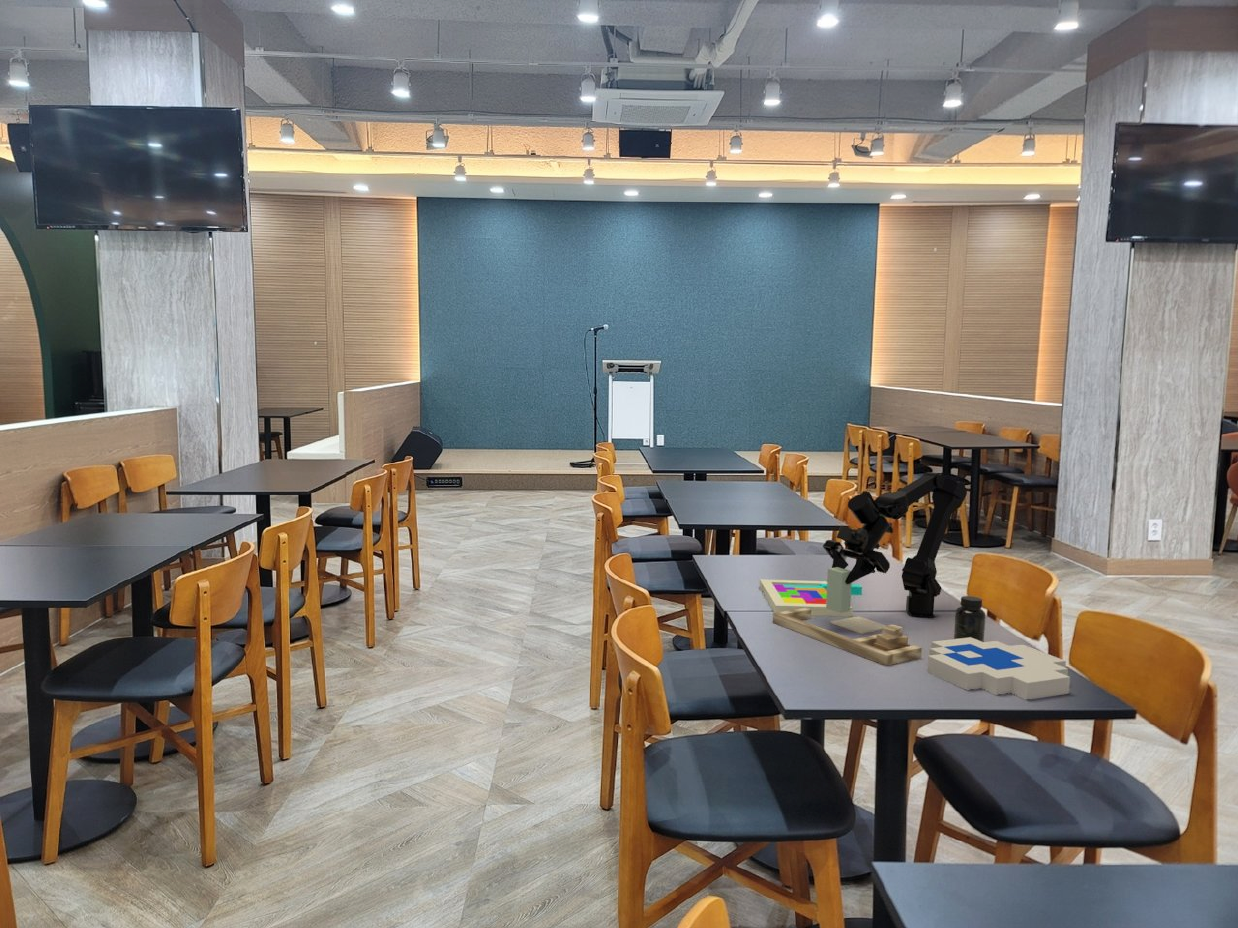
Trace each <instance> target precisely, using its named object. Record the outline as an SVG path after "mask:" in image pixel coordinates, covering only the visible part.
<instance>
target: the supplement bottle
mask: <svg viewBox="0 0 1238 928" xmlns="http://www.w3.org/2000/svg"><path fill="white" fill-rule="evenodd" d="M960 605H961V606H959V607H958V608H956V610H955V615H954V617H955V619H954V629H953V630H954V631H953V639H960V638H969V637H971V638H974V639H976V640H979V641H981V642H985V629H986V618H987V617H986V612H985V611H984V610H983V609H982V608H983V599H982V598H981V597H977V596H972V595H971V596H970V595H965V596H961V598H960Z"/></svg>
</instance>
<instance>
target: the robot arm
mask: <svg viewBox="0 0 1238 928" xmlns="http://www.w3.org/2000/svg"><path fill="white" fill-rule="evenodd" d="M930 493H932V496H931V500H932V504H933V510H932V512H931V514H930V518H929V520H928V523H927V525H926V528H925V531H924V534H923V537H922V540H921V542H920V544H919V547H918V550H917V553H916V554H915V556H913V557H907V558H906V559H905V563H904V566H903V567H902V569H901V571H902V573H901V580H902V585H903V588H904V591H908V595H907V596H906V600H905V601H906V603H905V604H906V605H905V611H907V613H908V615H910V616H911V617H918V618H919V617H923V618H935V617H936V615H935V614H934V609H935V598H936V597H938V596H940V595H941V592H942V590H943V589H942V586H941V585H940V583H939V582H938V580H937V578H936V577H937V574H938V573H937V572H938V571H937V567H936V562H935V561H936V558H937V555H938V552H939V549H940V547H941V544H942V542H943V540H944V539H943V538H944V537H945V533H946V530H947V529H948V526H949V523H950V520H951V518H952V515H953V513H955V512H957V510H958V509H960V508H961V507H962V506H963V503H964V501H965V500H966V497H967V494H968V490H967V488H966V485H965V483H963V482H962V481H957V480H954V479H952V478H949V477H946V476H945V475H943V474H942V473H938V472H933V471H932V472H931V471H927V472H924V473H923V474H922V476H920V477H918V478H917V479H915V480H913V481H912V482H910V483H908V484H907V485H906V486H904V487H902V488H900V489H899V490H897V491H894V492H893V491H892V492H886V493H882V494H881V495H880V494H879V496H877V497H876V498H875V499H874V498H873V496H872V494H871V492H870V491H866V490H865V491H864V490H863V491H862V492H861V493H860V494H857V495H855V496H853V497H852V498H850V499H849V501H848V503H847V507H848V509H849V511H850V512H851V513H852V515H853V516H854V517H855V519H856V520H857V521H858V522H859V523H860V524H862V526H861V527H858V528H857V529H855V528H851V527H846V526H842V525H841V526H840V527H839V529H838V532H837V535H836V538H837V539H840V540H842V541H843V542H844V543H843V545H844V546H846V547H847V548H844V546H843V545H842V543H841V542H840V541H836V540H833V539H827V540H825V542H824V544H823V545H822V548H823V549H824V550H825V552H826V553H827V554H828V555H829V557H830V558H831V559H832V565H831V568H835V567H839V568H842V569H847V567H848V566H849V564H848V562H847V561H846V560H847V558H851V559H855V564H854V566H853V567H852V568H851V570H850V571H851V572H850V574H849V575H848V577H847V579H846V581H845V583H846V584H847V585H848V584H850V583H854V582H855V581H857V580H859V579H862V578H863V577H866V576H868V575H870V574H875V573H876V572H878V573H883V574H887V572H888V571H889V570H890V568H891V567H890V565H891V564H890V562H889V560H888V559H887V558H886V556H885V554H884V553H883V552H881V551H877V550H879V549H880V547H881V546H880V544H879V543H880V541H881V540H882V539H883V537H884V535H885V534H886V533H887V534H894V528H893V523H892V522H889V521H888V520H887V519H891V520H896V521H898V520H899V519H901V518H903V517H904V515H906V514H907V513H908V511H909V508H910V506H911V505H912V504H914V503H916V502H917V501H919V500H920V499H922V498H923V497H925V496H927V495H928V494H930ZM875 549H876V550H875Z"/></svg>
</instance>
